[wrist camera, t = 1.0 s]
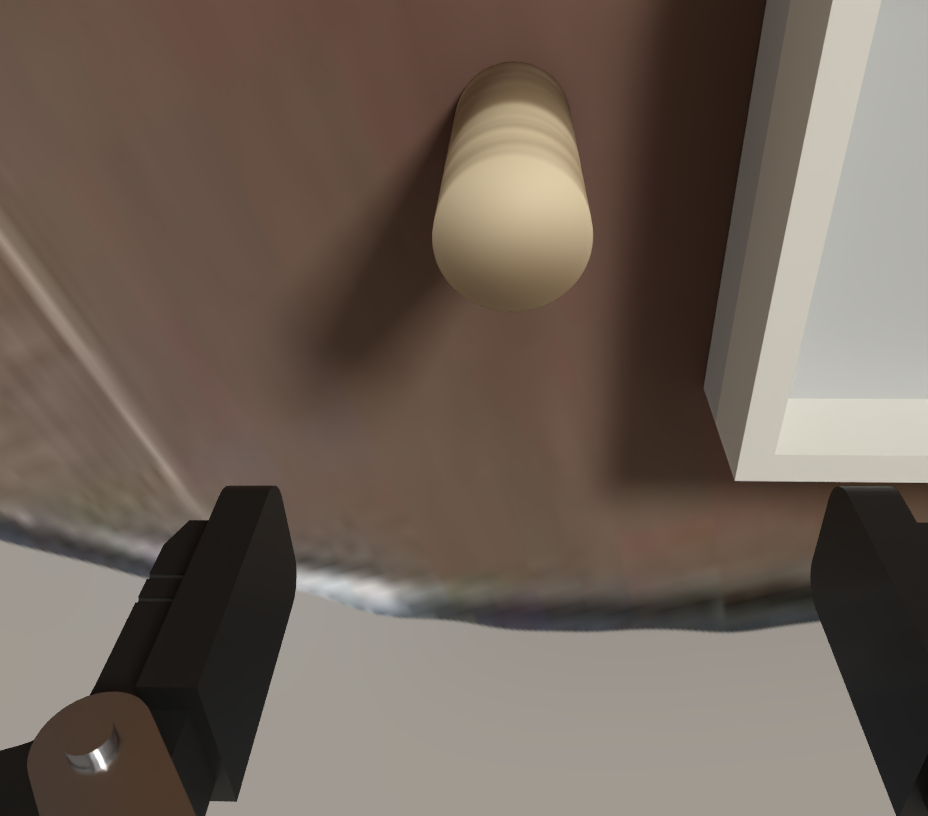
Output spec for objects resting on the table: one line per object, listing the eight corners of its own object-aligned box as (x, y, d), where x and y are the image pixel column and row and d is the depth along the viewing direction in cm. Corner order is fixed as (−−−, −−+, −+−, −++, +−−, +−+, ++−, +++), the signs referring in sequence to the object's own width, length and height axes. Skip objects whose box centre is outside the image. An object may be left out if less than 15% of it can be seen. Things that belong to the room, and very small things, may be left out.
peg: (452, 62, 28) (428, 162, 20) (573, 60, 28) (598, 160, 20) (456, 179, 30) (435, 311, 22) (567, 178, 30) (588, 311, 22)
